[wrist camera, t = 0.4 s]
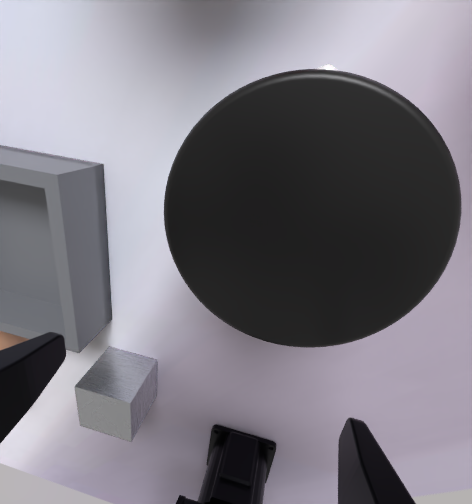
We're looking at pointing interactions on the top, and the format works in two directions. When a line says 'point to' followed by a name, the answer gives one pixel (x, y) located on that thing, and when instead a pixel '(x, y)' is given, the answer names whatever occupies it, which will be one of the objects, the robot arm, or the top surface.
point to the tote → (53, 247)
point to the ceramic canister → (9, 340)
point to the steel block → (117, 393)
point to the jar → (312, 208)
